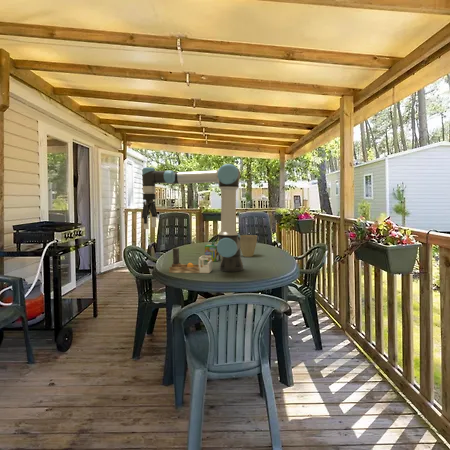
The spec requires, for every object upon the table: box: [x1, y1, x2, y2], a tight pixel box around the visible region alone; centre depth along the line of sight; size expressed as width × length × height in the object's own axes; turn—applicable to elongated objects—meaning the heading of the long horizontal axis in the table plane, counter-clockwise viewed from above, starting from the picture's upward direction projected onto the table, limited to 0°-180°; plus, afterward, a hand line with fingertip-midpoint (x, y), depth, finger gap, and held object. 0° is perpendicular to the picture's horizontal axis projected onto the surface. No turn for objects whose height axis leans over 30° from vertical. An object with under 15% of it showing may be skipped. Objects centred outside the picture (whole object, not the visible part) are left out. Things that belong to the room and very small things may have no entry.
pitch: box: [168, 263, 203, 274], centre depth 222 cm, size 19×12×3 cm, turn 82°
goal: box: [198, 255, 213, 274], centre depth 220 cm, size 6×10×9 cm, turn 172°
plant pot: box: [240, 234, 258, 258], centre depth 276 cm, size 15×15×16 cm
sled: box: [171, 247, 182, 267], centre depth 223 cm, size 4×6×12 cm, turn 172°
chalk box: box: [204, 239, 221, 263], centre depth 259 cm, size 9×9×15 cm
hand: (150, 228), depth 217 cm, fingers open, 13 cm apart
